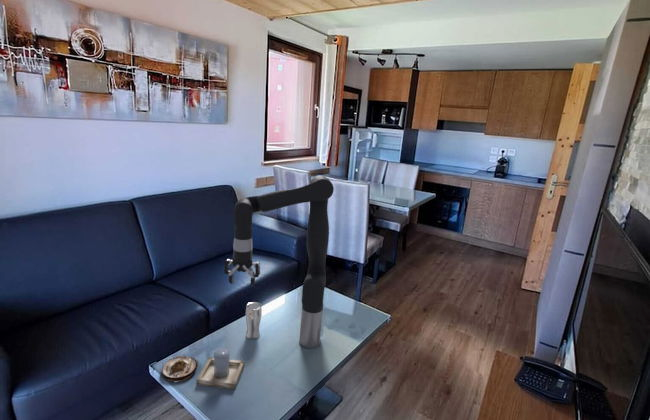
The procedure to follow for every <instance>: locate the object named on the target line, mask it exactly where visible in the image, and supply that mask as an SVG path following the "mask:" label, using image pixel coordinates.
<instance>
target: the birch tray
mask: <svg viewBox="0 0 650 420" xmlns="http://www.w3.org/2000/svg"><path fill="white" fill-rule="evenodd" d="M244 368H245V361H244V360H238V359H237V360H236V359H229V375H228V376H227V377H225V378H223V379H218V378H216V377H215V376H214V356H213V357H212V356H210V357H208V359H207V361H206V363H205V364H204V366H203V368H202V369H201V371H200V373H199V375H198V376H197V378H196V386H203V387H211V388H220V389H227V390H236V387H237V384H238V382H239V380H240V378H241V376H242V372H243V370H244Z"/></svg>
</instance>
